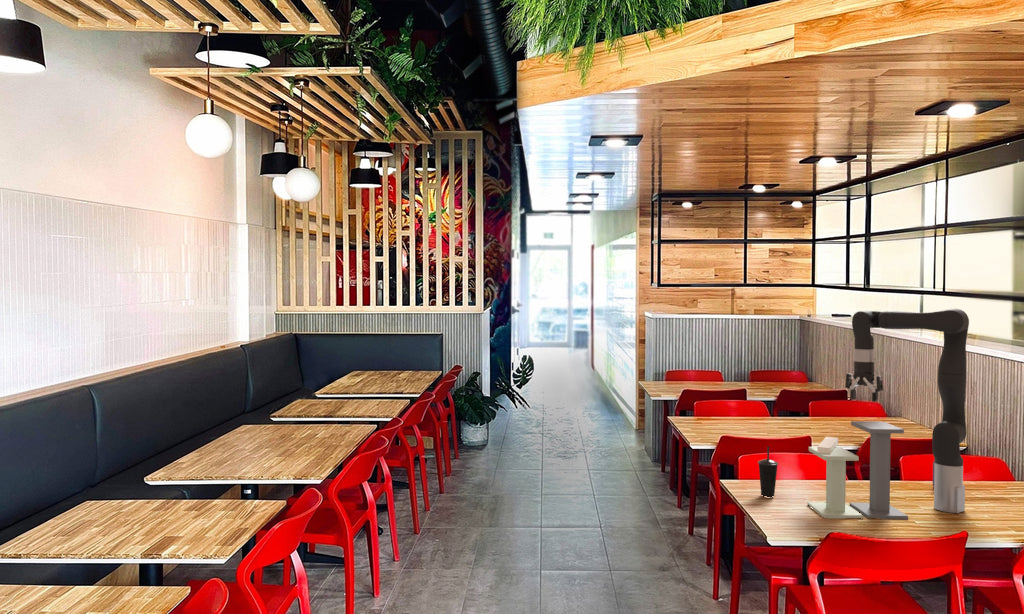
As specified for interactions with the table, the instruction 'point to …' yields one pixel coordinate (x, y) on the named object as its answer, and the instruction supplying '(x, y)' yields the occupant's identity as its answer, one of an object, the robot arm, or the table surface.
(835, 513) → the low shelf
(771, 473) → the drinking cup
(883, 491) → the high shelf
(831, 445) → the pale pink beam
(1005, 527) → the table surface
